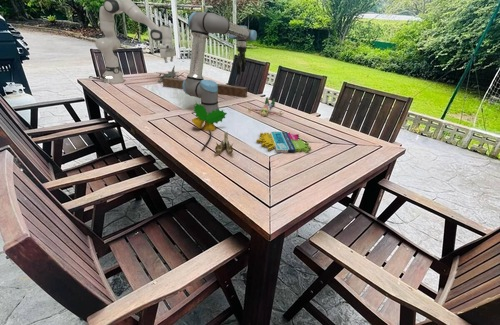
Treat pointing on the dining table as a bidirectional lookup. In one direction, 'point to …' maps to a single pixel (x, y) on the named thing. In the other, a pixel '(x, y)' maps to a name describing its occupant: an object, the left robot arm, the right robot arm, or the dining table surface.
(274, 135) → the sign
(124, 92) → the dining table surface
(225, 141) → the jawbone
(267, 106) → the toy
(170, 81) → the bar
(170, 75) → the airplane
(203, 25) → the right robot arm
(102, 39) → the left robot arm
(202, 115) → the ornament
